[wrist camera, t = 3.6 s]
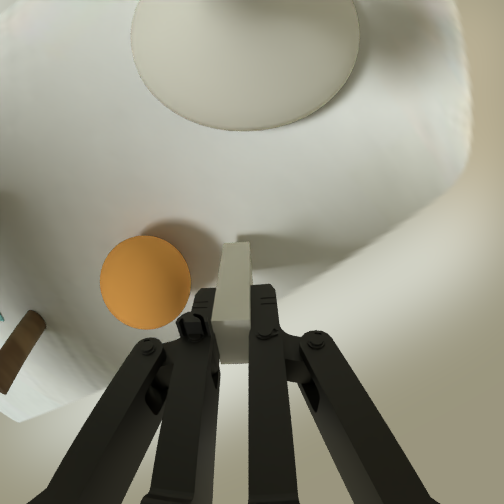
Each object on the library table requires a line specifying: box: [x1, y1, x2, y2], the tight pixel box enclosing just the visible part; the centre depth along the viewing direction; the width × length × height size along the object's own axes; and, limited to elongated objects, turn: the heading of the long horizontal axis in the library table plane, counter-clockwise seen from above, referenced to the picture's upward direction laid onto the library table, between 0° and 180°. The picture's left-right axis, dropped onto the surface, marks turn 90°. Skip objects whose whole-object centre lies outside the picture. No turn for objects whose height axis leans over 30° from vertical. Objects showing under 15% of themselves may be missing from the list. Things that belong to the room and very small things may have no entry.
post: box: [0, 310, 46, 395], centre depth 18 cm, size 3×3×9 cm
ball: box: [100, 236, 191, 330], centre depth 16 cm, size 6×6×6 cm
